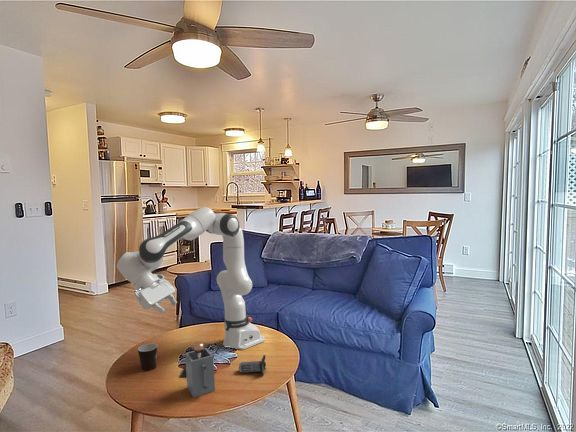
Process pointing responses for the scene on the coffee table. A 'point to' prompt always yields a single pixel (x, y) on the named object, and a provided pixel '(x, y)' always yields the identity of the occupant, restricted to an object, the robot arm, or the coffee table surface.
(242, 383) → the coffee table surface
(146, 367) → the coffee mug
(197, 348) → the ball-topped press plunger
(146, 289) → the robot arm
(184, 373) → the phone
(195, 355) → the box
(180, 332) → the coffee table surface
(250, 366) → the beverage can
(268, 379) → the coffee table surface
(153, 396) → the coffee table surface
